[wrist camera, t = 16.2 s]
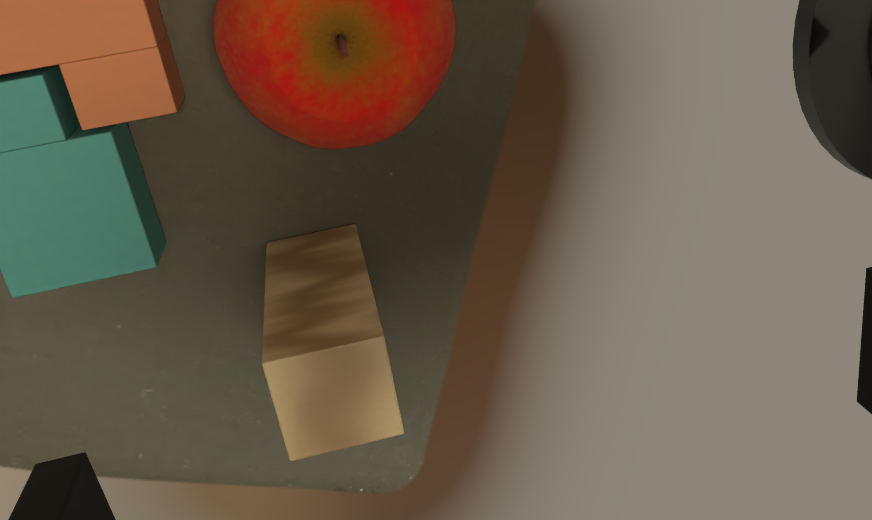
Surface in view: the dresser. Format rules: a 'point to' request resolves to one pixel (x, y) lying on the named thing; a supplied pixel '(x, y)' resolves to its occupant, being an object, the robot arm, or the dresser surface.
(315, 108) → the apple
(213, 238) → the dresser surface
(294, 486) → the dresser surface
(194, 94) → the dresser surface
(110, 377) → the dresser surface
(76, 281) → the teal tabbed block
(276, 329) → the pedestal
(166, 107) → the terracotta pad
